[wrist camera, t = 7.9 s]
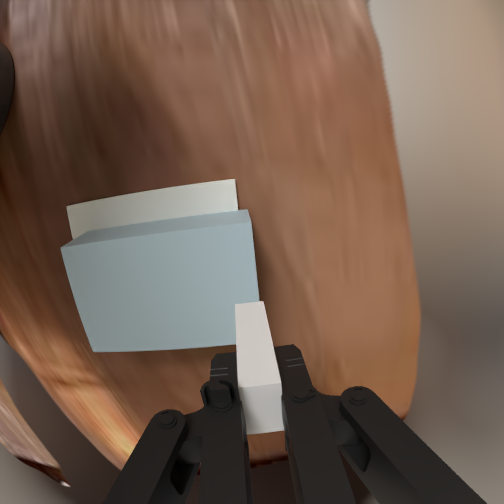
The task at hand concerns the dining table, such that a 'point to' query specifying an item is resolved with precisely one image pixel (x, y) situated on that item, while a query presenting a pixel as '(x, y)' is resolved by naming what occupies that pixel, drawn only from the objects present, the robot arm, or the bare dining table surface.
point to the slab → (163, 281)
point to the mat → (153, 206)
